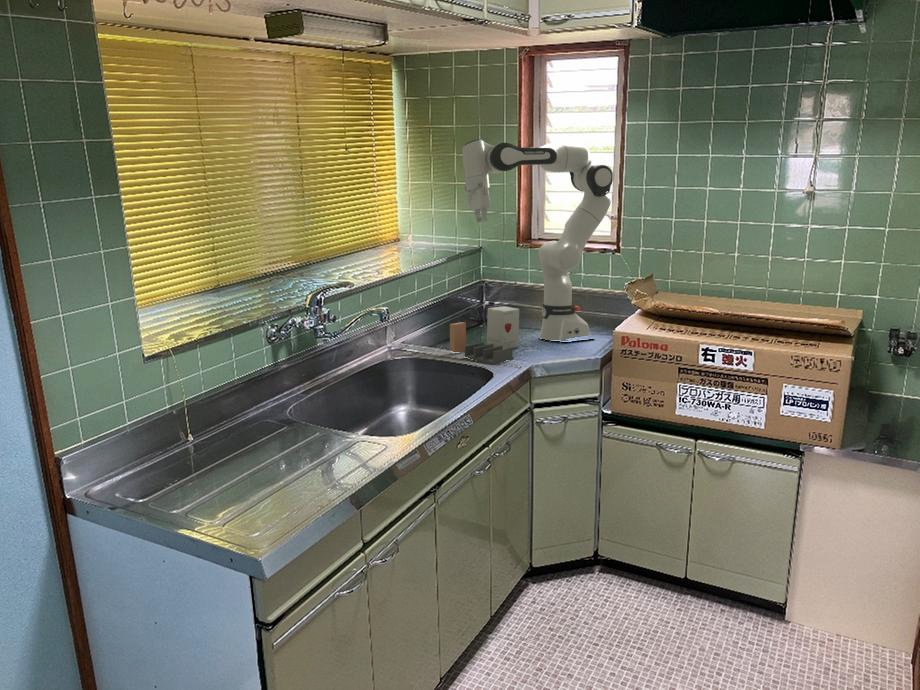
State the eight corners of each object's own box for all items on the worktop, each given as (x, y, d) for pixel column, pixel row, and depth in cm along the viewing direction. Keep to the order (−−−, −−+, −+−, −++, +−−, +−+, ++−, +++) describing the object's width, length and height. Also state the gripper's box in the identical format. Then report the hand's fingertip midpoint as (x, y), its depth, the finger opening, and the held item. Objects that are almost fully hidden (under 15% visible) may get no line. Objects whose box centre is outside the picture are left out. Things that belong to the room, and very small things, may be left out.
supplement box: (502, 350, 278) (503, 311, 275) (486, 346, 285) (486, 308, 281) (519, 347, 284) (520, 308, 281) (503, 343, 290) (503, 305, 287)
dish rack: (483, 353, 273) (483, 341, 272) (513, 359, 263) (513, 347, 262) (463, 358, 265) (463, 346, 264) (493, 364, 255) (493, 352, 254)
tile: (461, 350, 277) (461, 321, 275) (465, 351, 275) (465, 322, 273) (449, 353, 273) (449, 324, 271) (454, 354, 271) (454, 324, 269)
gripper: (492, 181, 267) (496, 219, 269) (479, 185, 287) (484, 221, 289) (475, 183, 266) (479, 221, 268) (464, 187, 286) (468, 223, 288)
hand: (481, 221), depth 279 cm, fingers open, 8 cm apart
